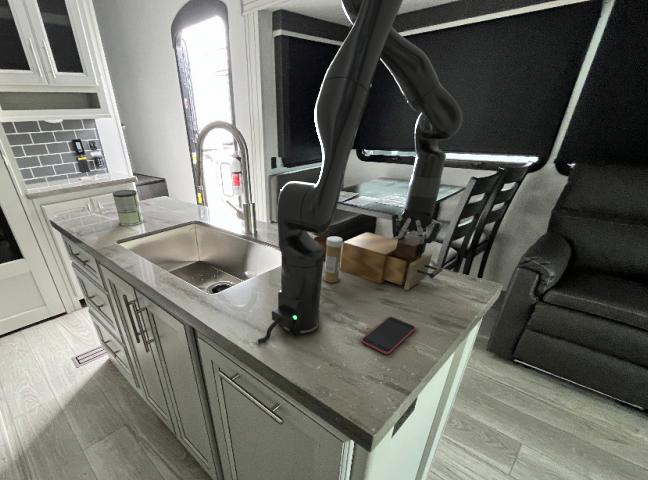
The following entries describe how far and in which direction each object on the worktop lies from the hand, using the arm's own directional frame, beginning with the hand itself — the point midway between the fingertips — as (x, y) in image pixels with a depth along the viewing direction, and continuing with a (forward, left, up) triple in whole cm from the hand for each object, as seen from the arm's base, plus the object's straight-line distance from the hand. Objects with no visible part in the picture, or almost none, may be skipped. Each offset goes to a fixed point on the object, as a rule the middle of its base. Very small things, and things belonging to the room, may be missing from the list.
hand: (409, 252), depth 94 cm
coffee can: (-33, +120, -10) cm, 125 cm away
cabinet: (0, +11, -9) cm, 15 cm away
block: (0, 0, 0) cm, 0 cm away
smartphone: (-29, -11, -9) cm, 32 cm away
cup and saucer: (-1, +30, -10) cm, 32 cm away
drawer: (0, 0, -8) cm, 8 cm away
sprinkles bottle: (-15, +16, -10) cm, 24 cm away
